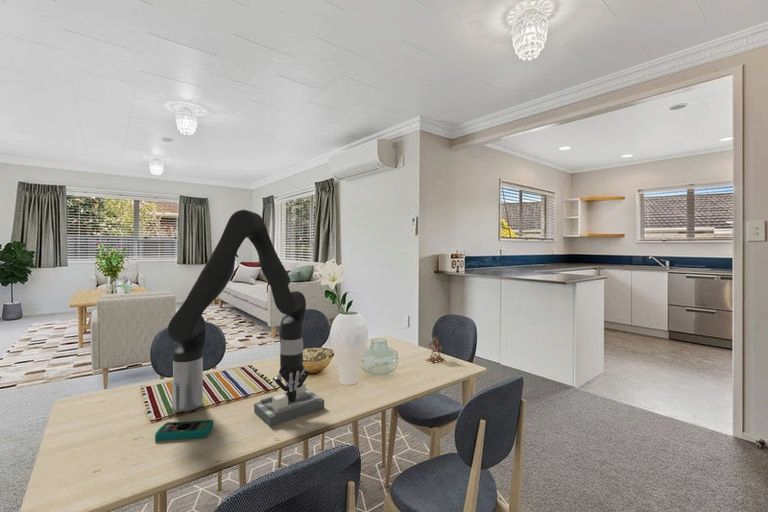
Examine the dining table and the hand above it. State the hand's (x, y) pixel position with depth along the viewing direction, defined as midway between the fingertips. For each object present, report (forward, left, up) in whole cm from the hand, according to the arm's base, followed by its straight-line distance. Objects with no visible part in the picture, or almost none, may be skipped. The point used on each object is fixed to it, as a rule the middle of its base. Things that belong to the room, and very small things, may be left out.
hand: (291, 400), depth 122 cm
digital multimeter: (-30, +10, -5) cm, 32 cm away
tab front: (-4, 0, -1) cm, 4 cm away
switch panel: (+1, +3, -5) cm, 6 cm away
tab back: (+6, +6, -1) cm, 9 cm away
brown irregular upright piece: (+81, +5, -5) cm, 81 cm away
